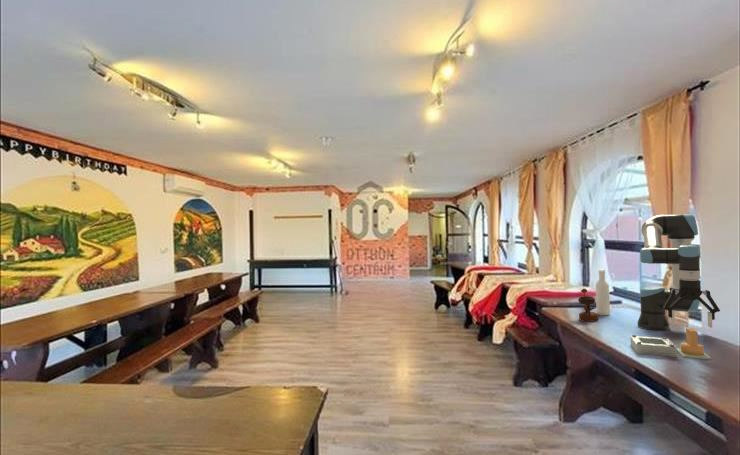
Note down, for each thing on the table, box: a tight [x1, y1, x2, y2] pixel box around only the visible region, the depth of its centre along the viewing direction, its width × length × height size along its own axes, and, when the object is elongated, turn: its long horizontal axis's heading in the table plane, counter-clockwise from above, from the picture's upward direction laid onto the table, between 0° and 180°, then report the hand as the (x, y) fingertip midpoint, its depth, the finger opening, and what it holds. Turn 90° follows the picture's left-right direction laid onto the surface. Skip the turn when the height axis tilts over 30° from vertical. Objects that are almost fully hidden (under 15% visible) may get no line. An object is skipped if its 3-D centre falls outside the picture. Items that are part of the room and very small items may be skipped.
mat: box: [676, 347, 712, 360], centre depth 178 cm, size 12×10×1 cm
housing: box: [629, 334, 678, 358], centre depth 185 cm, size 15×15×5 cm
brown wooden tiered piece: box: [578, 287, 599, 322], centre depth 248 cm, size 15×11×20 cm
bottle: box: [595, 268, 611, 316], centre depth 262 cm, size 8×8×30 cm
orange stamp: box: [680, 327, 705, 356], centre depth 178 cm, size 8×8×10 cm
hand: (691, 325), depth 179 cm, fingers open, 13 cm apart
